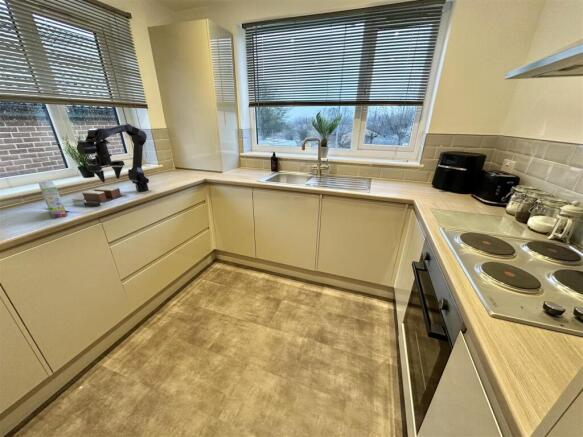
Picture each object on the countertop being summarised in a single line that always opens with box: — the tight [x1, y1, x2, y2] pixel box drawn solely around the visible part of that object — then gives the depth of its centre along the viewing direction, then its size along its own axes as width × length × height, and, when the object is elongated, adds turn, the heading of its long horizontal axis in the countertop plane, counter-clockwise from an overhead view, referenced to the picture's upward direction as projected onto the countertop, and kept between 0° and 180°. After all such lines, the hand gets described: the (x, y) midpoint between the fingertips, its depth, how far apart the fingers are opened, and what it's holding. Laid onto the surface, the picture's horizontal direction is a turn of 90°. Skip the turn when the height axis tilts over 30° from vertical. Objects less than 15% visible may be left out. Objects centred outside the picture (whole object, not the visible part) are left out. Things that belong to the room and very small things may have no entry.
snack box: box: [38, 180, 67, 219], centre depth 121 cm, size 21×6×15 cm, turn 48°
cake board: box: [81, 194, 128, 204], centre depth 144 cm, size 20×16×1 cm
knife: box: [71, 198, 102, 208], centre depth 131 cm, size 17×2×4 cm, turn 78°
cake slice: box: [82, 190, 106, 202], centre depth 139 cm, size 12×4×5 cm, turn 75°
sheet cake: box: [93, 186, 122, 198], centre depth 147 cm, size 12×6×5 cm, turn 78°
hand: (111, 180), depth 138 cm, fingers open, 9 cm apart
